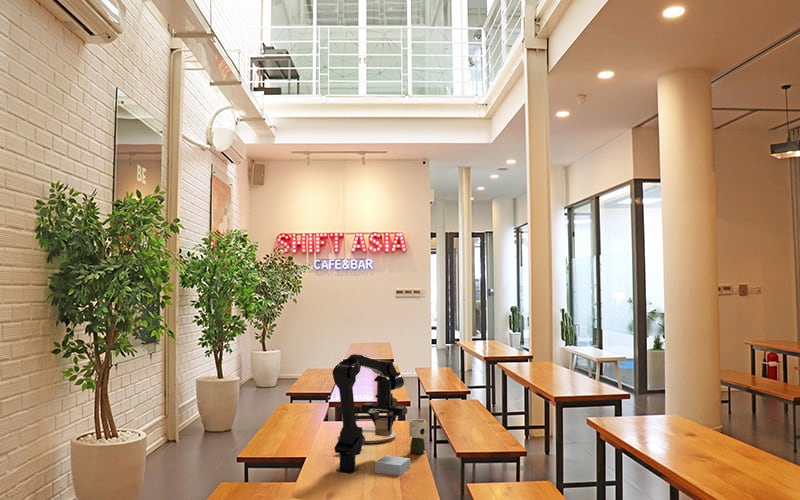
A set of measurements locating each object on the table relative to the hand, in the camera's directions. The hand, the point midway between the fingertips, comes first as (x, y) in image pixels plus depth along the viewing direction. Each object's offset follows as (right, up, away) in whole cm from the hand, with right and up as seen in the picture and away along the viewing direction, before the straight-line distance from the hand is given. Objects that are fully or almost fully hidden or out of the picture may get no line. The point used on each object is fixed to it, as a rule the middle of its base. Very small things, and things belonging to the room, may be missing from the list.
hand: (383, 430), depth 251 cm
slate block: (+4, -10, -18) cm, 21 cm away
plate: (-8, -12, +30) cm, 34 cm away
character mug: (+14, -11, +6) cm, 19 cm away
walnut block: (0, -2, 0) cm, 2 cm away
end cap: (-13, -11, +7) cm, 19 cm away
